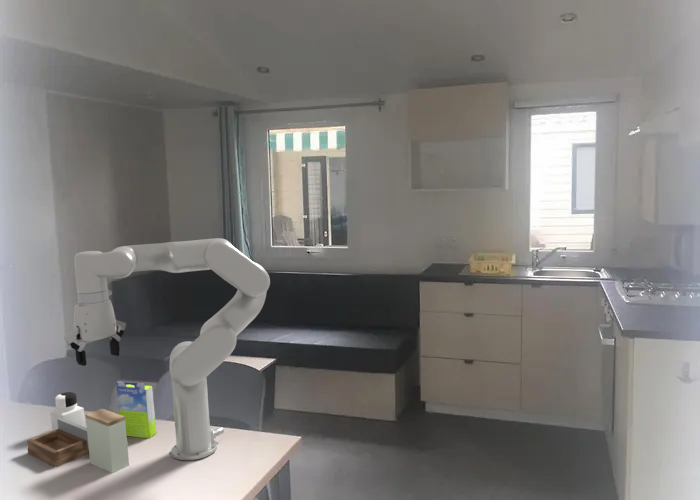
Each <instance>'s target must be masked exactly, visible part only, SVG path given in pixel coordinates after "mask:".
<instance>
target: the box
mask: <svg viewBox="0 0 700 500" xmlns="http://www.w3.org/2000/svg"><path fill="white" fill-rule="evenodd" d="M115 385H116V395H117V399H116V400H117V409H118V414H119V415H122V416H125V424H126V435H127V437H135V438H136V437H138V438H144V439H150V438H152V437H153V436H155V435H156V434H157V424H156V415H155V414H156V413H155V404H154V393H153V386H152V385H145V383H144V382H142V383H140V382H127V381H115Z"/></svg>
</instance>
